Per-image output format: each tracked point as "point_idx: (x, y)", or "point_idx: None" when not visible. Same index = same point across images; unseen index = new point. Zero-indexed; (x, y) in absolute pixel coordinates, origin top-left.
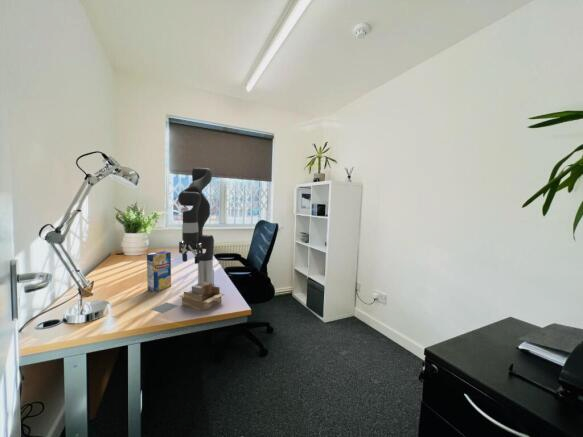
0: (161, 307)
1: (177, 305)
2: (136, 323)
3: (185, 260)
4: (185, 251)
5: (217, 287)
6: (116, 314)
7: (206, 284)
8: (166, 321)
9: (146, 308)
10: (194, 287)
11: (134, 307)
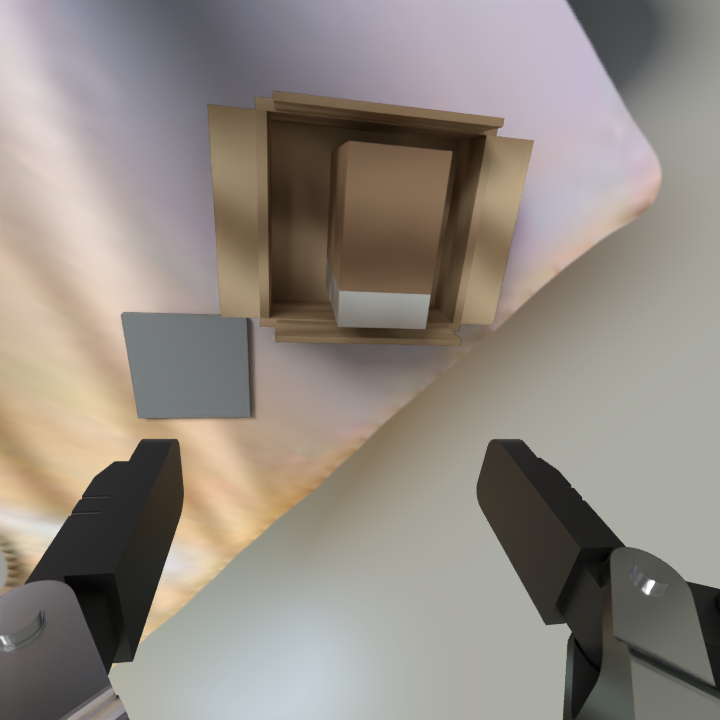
0: (173, 377)
1: (237, 319)
2: (225, 506)
3: (176, 482)
4: (6, 703)
5: (483, 125)
6: (32, 505)
7: (429, 223)
8: (332, 446)
9: (90, 407)
10: (370, 326)
11: (8, 427)
